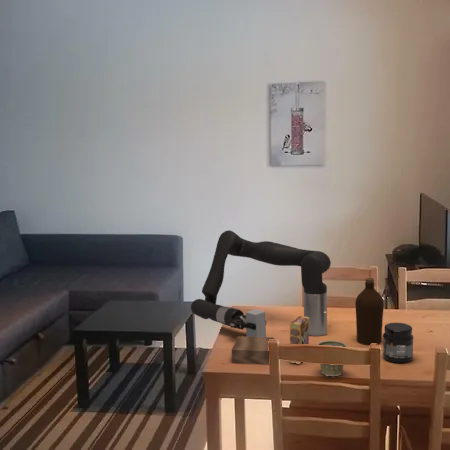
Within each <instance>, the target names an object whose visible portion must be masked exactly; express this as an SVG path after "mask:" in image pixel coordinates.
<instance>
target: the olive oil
mask: <svg viewBox="0 0 450 450" xmlns="http://www.w3.org/2000/svg"><path fill="white" fill-rule="evenodd" d="M364 285H365V286H364V289H363V290H362V291H361V292H360V293H359V294H358V295H357V296H356V298H355V302H354V303H355V319H356V321H355V324H356V341H357V343H359V344H361V345H365V346H370V345H369V344H371V343H378V344H377V345H379V344H381V343H382V342H383V341H382V339H383V320H384V318H383V317H384V307H385V305H384V304H385V303H384V299H383V297H382V295H381V294H380V293H379V292H378V290H376V289H375V279H374V278H373V277H366V278H365V282H364Z"/></svg>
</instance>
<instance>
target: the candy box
mask: <svg viewBox="0 0 450 450" xmlns="http://www.w3.org/2000/svg"><path fill="white" fill-rule="evenodd" d="M289 324H290V325H289V329H290V330H289V331H290V332H289V345H290V344H310V342H309V340H310V339H309V337H310V335H309V317H304V315H303V316H301V315H299V316H298V317H296V318H295V319H294V320H293V321H291V322H290V323H289ZM294 363H296V362H294Z"/></svg>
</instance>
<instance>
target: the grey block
mask: <svg viewBox="0 0 450 450" xmlns="http://www.w3.org/2000/svg"><path fill="white" fill-rule="evenodd" d="M245 314H246V322H248V323H253V324H256V330H252V329H249V328H248V329H245V333H246V335H245V337H267V327H266V326H267V320H266V311H264V310H261V309H256V308H254V309H251V310H248V311H245Z"/></svg>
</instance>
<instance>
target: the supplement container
mask: <svg viewBox="0 0 450 450" xmlns="http://www.w3.org/2000/svg"><path fill="white" fill-rule="evenodd" d="M382 339H383V341H382V342H383V345H382V347H383V348H382V350H383V351H382V357H383V359H385V360H386V361H387V362H390V361H391V362H390V363H394V362H396V363H395V364H406V363H409V362H411V361H412V360H413V359H414V335H413V326H411V325H410V324H407V323H404V322H389V323H386V324H385V325H384V332H383V333H382Z"/></svg>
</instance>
